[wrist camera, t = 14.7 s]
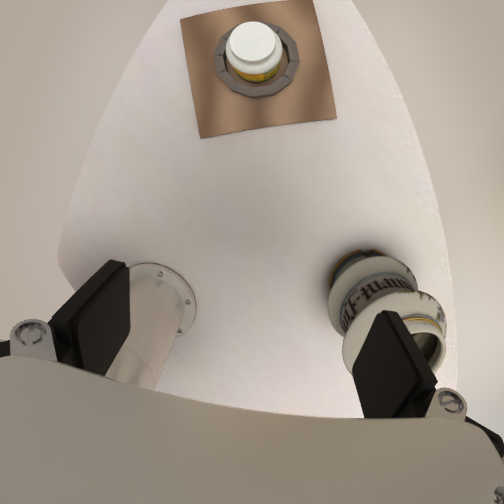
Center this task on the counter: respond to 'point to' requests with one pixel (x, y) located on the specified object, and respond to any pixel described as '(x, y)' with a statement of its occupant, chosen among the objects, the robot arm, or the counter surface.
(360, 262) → the apothecary jar
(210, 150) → the counter surface
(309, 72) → the stand board
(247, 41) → the supplement bottle
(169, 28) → the counter surface
